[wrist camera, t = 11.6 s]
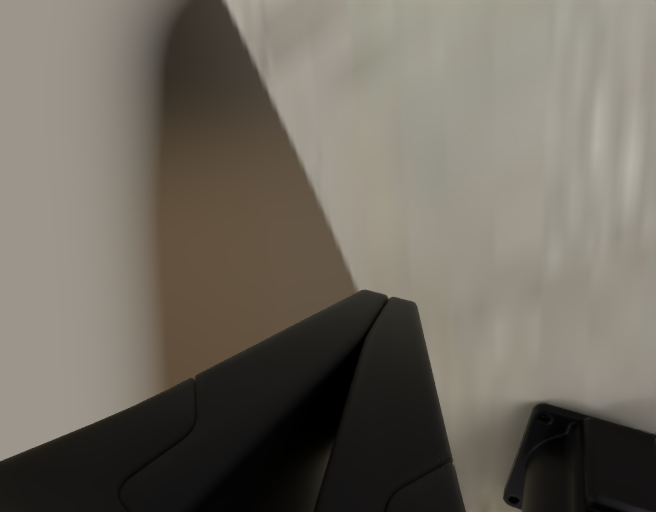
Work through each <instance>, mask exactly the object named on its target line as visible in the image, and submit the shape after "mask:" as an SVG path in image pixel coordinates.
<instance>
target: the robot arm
mask: <svg viewBox="0 0 656 512" xmlns="http://www.w3.org/2000/svg"><path fill="white" fill-rule="evenodd" d="M540 415H547V416H549V417H542V416H540ZM452 463H453V459H452V455H451V450H450V446H449V442H448V438H447V433H446V429H445V425H444V420H443V416H442V412H441V407H440V403H439V399H438V394H437V390H436V386H435V381H434V377H433V373H432V369H431V364H430V360H429V356H428V351H427V347H426V343H425V338H424V334H423V330H422V325H421V321H420V317H419V312H418V308H417V305H416V303H414V302H412V301H408V300H404V299H400V298H396V297H391V298H389V299H388V297H387V296H386V295H384V294H380V293H377V292H373V291H369V290H361V291H359V292H357V293H355V294H353V295H352V296H349V297H347V298H345V299H343V300H341V301H339V302H337V303H336V304H334V305H332V306H330V307H328V308H326V309H324V310H322V311H320V312H318V313H316V314H314V315H312V316H311V317H308V318H306V319H304V320H302V321H301V322H299V323H297V324H295V325H293V326H291V327H289V328H287V329H285V330H283V331H281V332H279V333H277V334H275V335H273V336H271V337H269V338H267V339H265V340H264V341H262V342H260V343H258V344H256V345H254V346H252V347H250V348H248V349H246V350H244V351H242V352H240V353H238V354H237V355H234V356H232V357H230V358H228V359H227V360H225V361H223V362H221V363H219V364H217V365H215V366H213V367H211V368H209V369H207V370H205V371H203V372H201V373H200V374H197V375H196V376H195V380H194V379H193V378H189V379H187V380H185V381H183V382H181V383H179V384H177V385H176V386H174V387H172V388H170V389H168V390H166V391H164V392H161V393H160V394H157V395H156V396H153V397H151V398H149V399H147V400H145V401H143V402H141V403H139V404H137V405H135V406H133V407H130V408H128V409H126V410H123V411H121V412H119V413H116V414H114V415H112V416H109V417H107V418H105V419H102V420H100V421H98V422H95V423H93V424H91V425H88V426H86V427H84V428H81V429H79V430H76V431H74V432H71V433H69V434H66V435H64V436H61V437H59V438H56V439H54V440H52V441H49V442H47V443H44V444H42V445H39V446H37V447H35V448H32V449H29V450H27V451H25V452H22V453H20V454H17V455H15V456H12V457H10V458H7V459H5V460H3V461H0V512H466V510H465V506H464V503H463V499H462V496H461V492H460V488H459V483H458V479H457V475H456V471H455V467H454V465H453V464H452ZM513 496H515V497H513ZM503 499H504V501H505V502H506V503H507V504H508V505H510V506H512V507H515V508H518V509H521V510H522V512H656V435H652V434H649V433H645V432H642V431H638V430H635V429H631V428H628V427H624V426H621V425H617V424H614V423H611V422H607V421H604V420H600V419H597V418H593V417H590V416H586V415H583V414H579V413H576V412H572V411H569V410H565V409H562V408H558V407H555V406H551V405H548V404H538V405H537V406H535V407H534V408H533V410H532V413H531V416H530V419H529V422H528V424H527V427H526V430H525V433H524V435H523V438H522V441H521V444H520V447H519V449H518V452H517V455H516V458H515V461H514V463H513V466H512V469H511V472H510V475H509V477H508V480H507V483H506V486H505V489H504V496H503ZM313 510H314V511H313Z"/></svg>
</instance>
